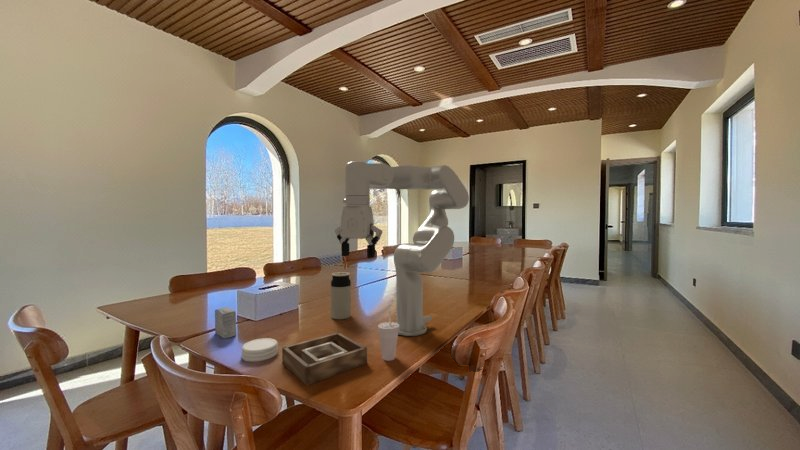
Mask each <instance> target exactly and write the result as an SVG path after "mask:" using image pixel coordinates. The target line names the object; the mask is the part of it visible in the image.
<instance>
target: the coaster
mask: <svg viewBox="0 0 800 450" xmlns="http://www.w3.org/2000/svg"><path fill="white" fill-rule="evenodd" d="M278 345H279V343H278V341H277V340H276V339H274V338H270V337H269V338H268V337H262V338H256V339H252V340H250V341H249V340H248V341H247V342H245V343H244V344H243V345H242V346H241V359H242V360H244V362H250V363H254V362H255V363H256V362H263V361H267V360H269V359H271V358H274V357H276V355H278V352H279V350H278Z"/></svg>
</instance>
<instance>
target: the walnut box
mask: <svg viewBox="0 0 800 450" xmlns="http://www.w3.org/2000/svg"><path fill="white" fill-rule="evenodd" d="M281 349H282V351H281V353H282V355H281V356H282V364H283V365H284V367H286V368H287V369H288V370H289V371H291V372H292V374H294V376H296V377H297V378H298V379H299V380H300V381H301V382H302V383H303V384H304V385H305V386H309V385H312V384H315V383H317V382H319V381H323V380H326V379H328V378H332V377H335V376H337V375H340V374H342V373H345V372H349V371H351V370H354V369H357V368H359V367H362V366H365V365H367V364H368V347H366V346H364V345H363V344H361V343H360V342H357V341H355V340H353V339H351V338H350V337H348V336H346V335H345V334H342V333H340V332H339V331H338V332H335V333H331V334H328V335H323V336H319V337H316V338H312V339H308V340H305V341H301V342H297V343H294V344H290V345H286V346H282V347H281Z"/></svg>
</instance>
